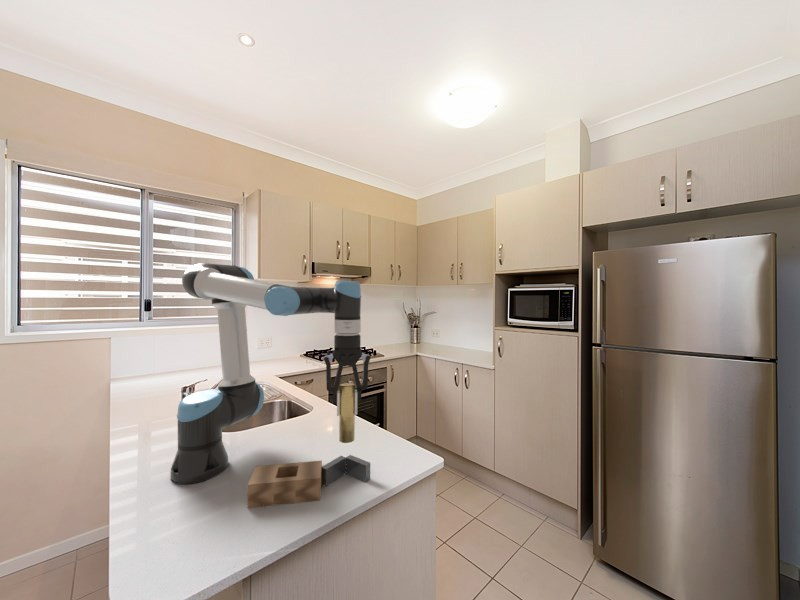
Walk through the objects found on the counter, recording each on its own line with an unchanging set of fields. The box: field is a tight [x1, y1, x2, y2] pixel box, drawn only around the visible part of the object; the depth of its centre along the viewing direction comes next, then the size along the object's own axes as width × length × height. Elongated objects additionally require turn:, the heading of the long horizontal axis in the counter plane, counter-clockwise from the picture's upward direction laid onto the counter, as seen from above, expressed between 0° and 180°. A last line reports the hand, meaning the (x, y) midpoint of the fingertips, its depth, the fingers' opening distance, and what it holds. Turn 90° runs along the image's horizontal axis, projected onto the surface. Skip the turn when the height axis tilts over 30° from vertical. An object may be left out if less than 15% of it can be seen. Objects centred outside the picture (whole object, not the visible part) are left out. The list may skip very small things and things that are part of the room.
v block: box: [321, 454, 371, 487], centre depth 96 cm, size 14×7×5 cm, turn 101°
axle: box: [338, 382, 356, 444], centre depth 94 cm, size 4×4×16 cm
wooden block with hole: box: [246, 460, 323, 509], centre depth 88 cm, size 18×9×6 cm, turn 101°
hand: (347, 413), depth 94 cm, fingers closed on axle, 4 cm apart
